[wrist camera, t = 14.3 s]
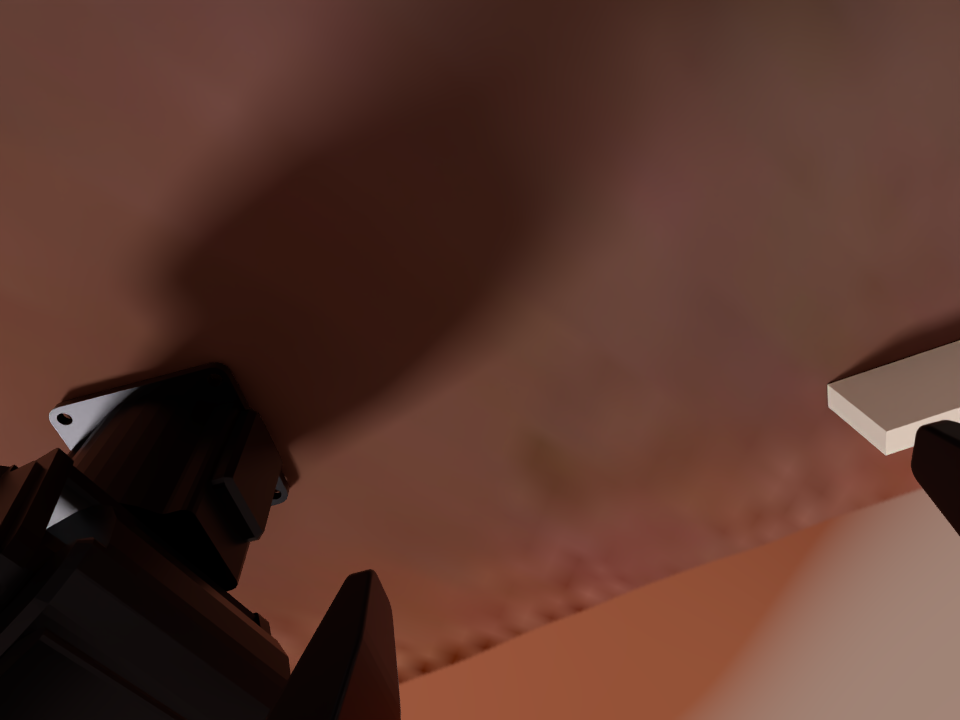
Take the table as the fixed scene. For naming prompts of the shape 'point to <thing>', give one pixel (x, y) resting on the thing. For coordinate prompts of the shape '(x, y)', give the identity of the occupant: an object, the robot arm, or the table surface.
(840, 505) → the table surface
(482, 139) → the table surface
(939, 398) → the bay
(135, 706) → the robot arm
